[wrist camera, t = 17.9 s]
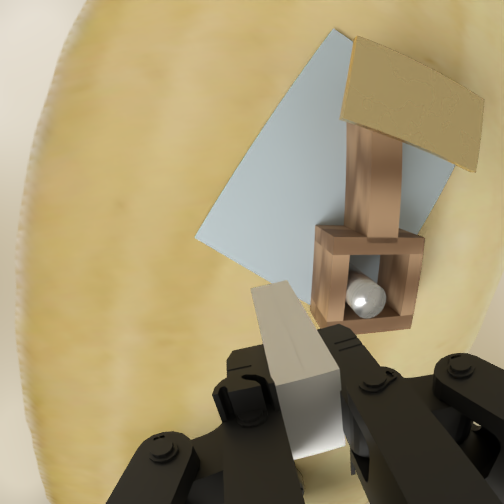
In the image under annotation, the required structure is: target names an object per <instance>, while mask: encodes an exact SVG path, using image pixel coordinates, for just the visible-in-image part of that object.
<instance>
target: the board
mask: <svg viewBox="0 0 504 504" xmlns="http://www.w3.org/2000/svg"><path fill="white" fill-rule="evenodd" d="M352 47H353V41H351V40H350V39H348V38H347V37H345V36H344V35H342V34H341V33H339V32H338V31H336V30H335V29H332V31H331V32H330V33H329V35H328V36H327V37H326V39H325V40H324V42H323V43H322V44H321V46H320V47H319V48H318V50H317V51H316V52H315V54H314V55H313V57H312V58H311V59H310V61H309V62H308V64H307V65H306V66H305V68H304V69H303V71H302V72H301V73H300V75H299V76H298V78H297V79H296V80H295V82H294V83H293V85H292V86H291V88H290V89H289V90H288V92H287V93H286V95H285V96H284V98H283V99H282V101H281V102H280V104H279V105H278V106H277V108H276V109H275V111H274V112H273V114H272V115H271V117H270V118H269V120H268V121H267V123H266V124H265V126H264V127H263V129H262V130H261V132H260V133H259V135H258V136H257V138H256V139H255V141H254V142H253V144H252V146H251V147H250V149H249V150H248V152H247V153H246V155H245V156H244V158H243V159H242V161H241V163H240V164H239V166H238V167H237V169H236V170H235V172H234V174H233V175H232V177H231V178H230V180H229V181H228V183H227V185H226V186H225V188H224V189H223V191H222V193H221V194H220V196H219V198H218V199H217V201H216V202H215V204H214V206H213V207H212V209H211V211H210V212H209V214H208V215H207V217H206V219H205V220H204V222H203V224H202V225H201V227H200V229H199V230H198V232H197V234H196V235H195V237H194V238H196V239H198V240H199V241H201V242H203V243H204V244H206V245H208V246H209V247H211V248H213V249H215V250H216V251H218V252H220V253H221V254H223V255H225V256H226V257H228V258H230V259H232V260H233V261H235V262H237V263H238V264H240V265H242V266H243V267H245V268H247V269H249V270H250V271H252V272H254V273H255V274H257V275H259V276H261V277H262V278H264V279H266V280H267V281H269V282H271V283H277V282H281V281H285V280H287V281H288V282H289V284H290V286H291V287H292V289H293V291H294V292H295V294H296V296H297V297H298V298H299V299H300V300H302V301H304V302H306V303H307V304H309V305H310V303H311V289H312V274H313V258H314V240H315V225H344V211H345V187H346V122H345V121H341V120H339V118H340V113H341V108H342V102H343V97H344V92H345V86H346V81H347V76H348V70H349V64H350V58H351V53H352ZM454 167H455V165H454V164H452V163H450V162H448V161H446V160H444V159H441V158H439V157H437V156H435V155H432V154H430V153H428V152H425V151H423V150H421V149H418V148H416V147H413V146H411V145H408V144H406V143H403V142H402V185H401V204H400V218H399V228H400V229H403V230H406V231H408V232H411V233H414V234H416V235H417V234H418V232H419V231H420V229H421V227H422V226H423V224H424V222H425V220H426V219H427V217H428V215H429V213H430V212H431V210H432V208H433V206H434V205H435V203H436V201H437V199H438V197H439V195H440V194H441V192H442V190H443V188H444V186H445V184H446V182H447V180H448V179H449V177H450V175H451V173H452V171H453V169H454ZM349 262H350V263H351V264H352V265H354V266H355V267H356V268H358V269H359V270H360V271H361V272H363V273H364V274H365V275H366V276H368V277H369V278H370V279H371V280H373V281H374V282H375V283H376V284H377V280H378V272H379V263H380V255H350V259H349Z"/></svg>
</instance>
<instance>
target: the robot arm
mask: <svg viewBox="0 0 504 504" xmlns="http://www.w3.org/2000/svg"><path fill="white" fill-rule="evenodd" d="M251 293H252V297H253V302H254V306H255V310H256V315H257V319H258V323H259V328H260V332H261V336H262V341H263V344H261V345H257V346H252V347H248V348H243V349H239V350H234V351H232V353H231V354H230V356H229V357H228V359H227V378H225V379H224V380H222V381H221V382H220V383H219V384H218V385H217V386H216V387H215V388H214V391H213V394H212V396H213V399H214V401H215V404H216V407H217V409H218V412H219V415H220V417H221V420H222V424H221V425H220V426H219V427H218V428H216V429H215V430H214V431H212V432H210V433H208V434H206V435H203V436H201V437H198V438H195V439H193V440H190V439H189V438H188V437H187V436H185V435H184V434H183V433H178V432H174V431H172V432H162V433H159V434H156V435H153V436H151V437H150V438H148V439H146V440H145V441H144V442H143V443H142V444H141V445H140V446H139V447H138V449H137V451H136V452H135V454H134V456H133V457H132V459H131V461H130V463H129V464H128V466H127V468H126V469H125V471H124V473H123V475H122V476H121V478H120V480H119V482H118V483H117V485H116V487H115V488H114V490H113V492H112V494H111V495H110V497H109V499H108V500H107V502H106V504H305V502H304V498H303V495H304V483H303V479H302V475H301V473H300V472H299V471H298V470H297V469H296V467H295V463H294V460H295V459H299V458H303V457H307V456H311V455H315V454H319V453H322V452H326V451H329V450H333V449H336V448H340V447H343V446H345V436H346V438H347V441H348V443H349V445H350V461H351V475H354V474H355V470H356V472H357V475H358V477H359V479H360V482H361V484H362V486H363V488H364V491H365V493H366V495H367V498H368V500H369V502H370V504H504V370H503V369H501V368H499V367H497V366H495V365H493V364H491V363H489V362H487V361H485V360H483V359H481V358H479V357H477V356H474V355H471V354H468V353H456V354H451V355H448V356H446V357H444V358H442V359H440V360H439V361H438V362H437V363H436V366H435V369H434V374H433V375H427V376H421V377H414V378H403V377H402V376H401V374H399V373H398V372H397V371H395V370H394V369H391V368H388V367H380V365H379V364H378V363H377V361H376V360H375V359H374V358H373V356H372V355H371V354H370V353H369V351H368V350H367V349H366V348H365V346H364V345H362V343H361V341H360V340H359V339H358V338H357V336H356V335H355V334H354V332H353V331H352V330H351V329H350V328H348V327H345V326H343V325H341V324H336V325H332V326H329V327H325V328H321V329H318V330H317V329H316V328H315V326H314V324H313V323H312V321H311V319H310V318H309V316H308V314H307V313H306V311H305V309H304V307H303V306H302V304H301V302H300V301H299V299H298V297H297V296H296V294H295V292H294V291H293V289H292V287H291V286H290V284H289V282H288V281H287V280H285V281H281V282H277V283H272V284H268V285H264V286H259V287H255V288H251ZM473 421H474V422H476V423H477V424H479V425H481V426H476V425H475V424H473Z"/></svg>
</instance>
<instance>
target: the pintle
mask: <svg viewBox="0 0 504 504" xmlns="http://www.w3.org/2000/svg"><path fill="white" fill-rule="evenodd" d="M345 301H346V302H347V303H348V305H349V306H350V307H351V308H352V309H353V310H354V312H355V313H356V314H357V315H358V316H359V317H361V318H372V317H374V316H376V315H378V314H379V313H380V312H381V311H382V309H383V308H384V306H385V303H386V294H385V291H384V290H383V288H381V287H380V286H379V285H378V284H376V283H375V282H374V281H373V280H371V279H370V278H369V277H368V276H366V275H365V274H364V273H363V272H361V271H360V270H359V269H358V268H356V267H355V266H354V265H352V264H351V263H350V262H349V270H348V281H347V291H346V300H345Z"/></svg>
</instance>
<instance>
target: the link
mask: <svg viewBox="0 0 504 504" xmlns="http://www.w3.org/2000/svg"><path fill="white" fill-rule="evenodd" d="M401 185H402V142H401V141H398V140H396V139H393V138H390V137H388V136H385V135H382V134H380V133H377V132H374V131H371V130H368V129H366V128H363V127H360V126H357V125H354V124H351V123H348V122H346V187H345V211H344V225H315V240H314V258H313V274H312V289H311V303H310V311H311V313H312V315H313V316H314V318H315V320H316V322H317V323H318V325H319V327H320V329H321V328H325V327H329V326H332V325H336V324H341V325H343V326H345V327H348V328H350V329H351V330H352V331H353V332H354V334H366V333H376V332H385V331H394V330H402V329H410V328H411V324H412V319H413V314H414V309H415V303H416V298H417V292H418V286H419V280H420V273H421V266H422V259H423V251H424V242H425V238H424V237H421V236H419V235H416V234H414V233H411V232H408V231H406V230H403V229H400V228H399V218H400V204H401ZM350 255H380V263H379V272H378V280H377V284H378V285H379V286H380V287H381V288H383V290H384V291H385V294H386V303H385V306H384V308H383V309H382V311H381V312H380V313H379V314H378V315H376V316H374V317H372V318H361V317H359V316H358V315H357V314H356V313H355V312H354V310H353V309H352V308H351V307H350V306H349V305H348V303H347V302H346V301H345V300H346V291H347V281H348V270H349V259H350Z"/></svg>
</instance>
